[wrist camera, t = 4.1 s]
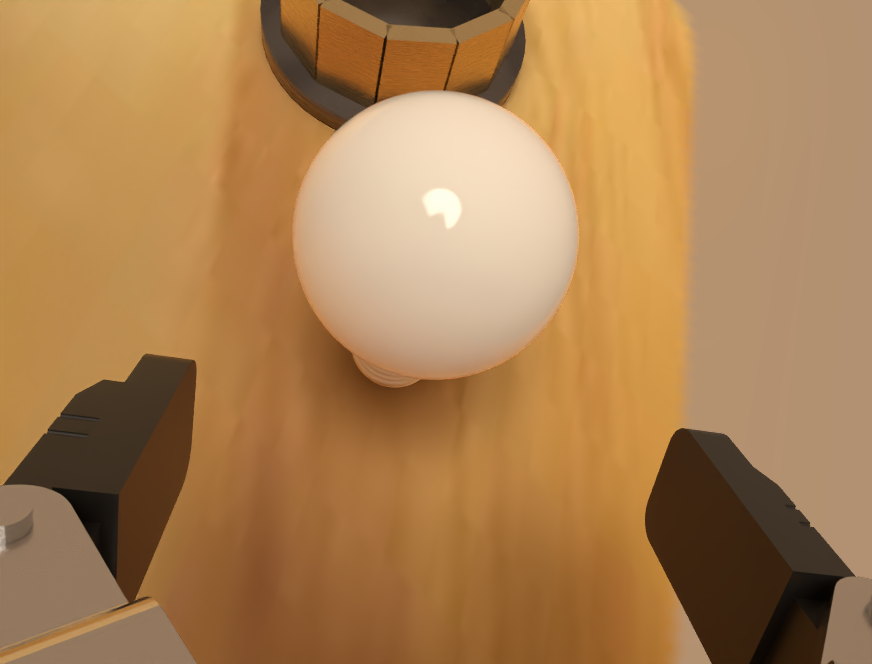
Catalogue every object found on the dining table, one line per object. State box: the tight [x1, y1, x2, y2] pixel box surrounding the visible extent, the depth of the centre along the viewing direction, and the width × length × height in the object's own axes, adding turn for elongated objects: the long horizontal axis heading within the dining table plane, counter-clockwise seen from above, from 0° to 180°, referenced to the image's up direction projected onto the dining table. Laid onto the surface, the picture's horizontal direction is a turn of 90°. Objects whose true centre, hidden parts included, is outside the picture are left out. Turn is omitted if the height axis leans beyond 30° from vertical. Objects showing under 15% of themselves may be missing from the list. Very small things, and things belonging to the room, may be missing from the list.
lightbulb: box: [292, 90, 579, 388], centre depth 19 cm, size 6×6×11 cm
